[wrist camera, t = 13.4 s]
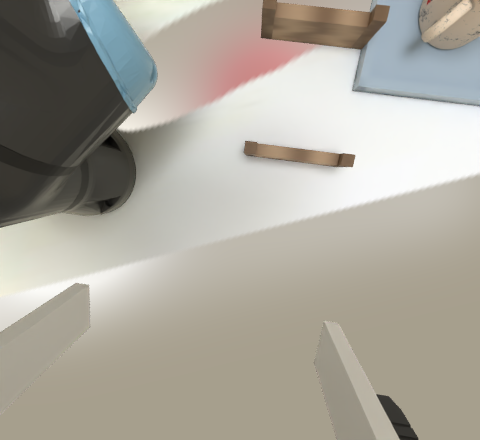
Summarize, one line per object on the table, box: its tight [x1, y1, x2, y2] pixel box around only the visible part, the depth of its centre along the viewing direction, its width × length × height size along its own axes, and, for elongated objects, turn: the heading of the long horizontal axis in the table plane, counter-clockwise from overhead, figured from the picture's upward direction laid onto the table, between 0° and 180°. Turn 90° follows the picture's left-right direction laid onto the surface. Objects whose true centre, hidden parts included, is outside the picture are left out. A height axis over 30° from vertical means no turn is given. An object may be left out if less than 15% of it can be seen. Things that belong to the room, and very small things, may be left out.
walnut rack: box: [244, 0, 390, 167], centre depth 31 cm, size 14×18×6 cm
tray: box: [353, 0, 480, 106], centre depth 30 cm, size 20×18×2 cm
